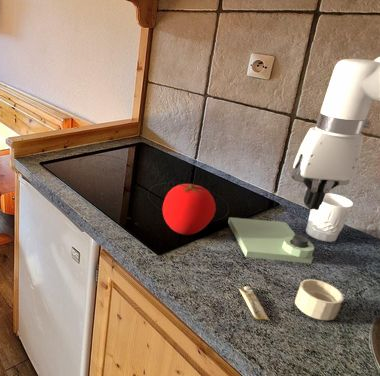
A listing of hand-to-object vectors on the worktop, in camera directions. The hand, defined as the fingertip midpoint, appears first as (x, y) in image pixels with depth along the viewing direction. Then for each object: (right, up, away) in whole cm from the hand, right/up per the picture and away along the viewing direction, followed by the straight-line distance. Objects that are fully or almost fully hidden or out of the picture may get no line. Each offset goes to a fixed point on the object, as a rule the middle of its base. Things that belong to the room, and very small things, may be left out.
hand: (310, 206), depth 88 cm
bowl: (-6, -19, -11) cm, 23 cm away
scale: (-4, -9, +11) cm, 15 cm away
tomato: (-22, -7, +15) cm, 28 cm away
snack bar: (-18, -19, -10) cm, 28 cm away
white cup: (+12, -8, +14) cm, 20 cm away
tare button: (0, -9, +4) cm, 10 cm away
